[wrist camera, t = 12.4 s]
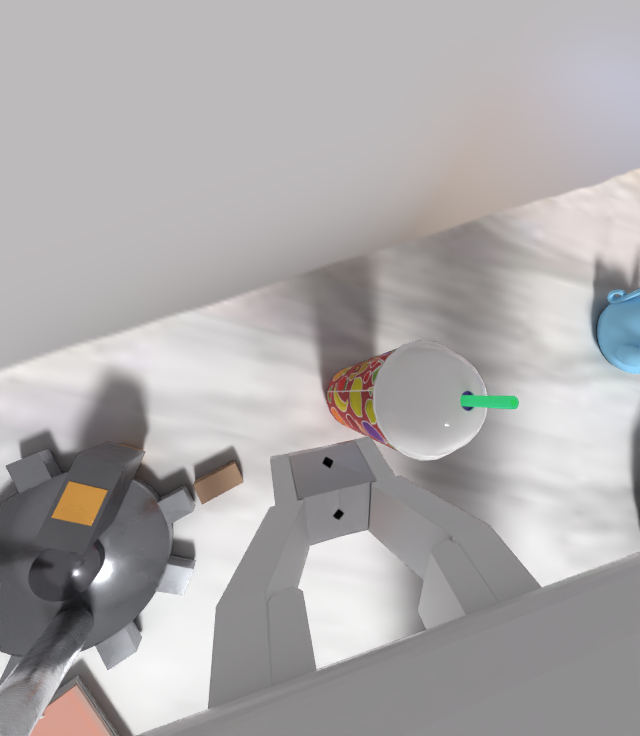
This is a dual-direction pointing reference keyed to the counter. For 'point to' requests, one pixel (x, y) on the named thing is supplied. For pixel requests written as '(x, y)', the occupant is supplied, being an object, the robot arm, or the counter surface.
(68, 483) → the grey and orange block
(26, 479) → the sprocket
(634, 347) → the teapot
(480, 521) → the robot arm
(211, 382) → the counter surface
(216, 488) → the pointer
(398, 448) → the smoothie
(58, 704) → the notebook
